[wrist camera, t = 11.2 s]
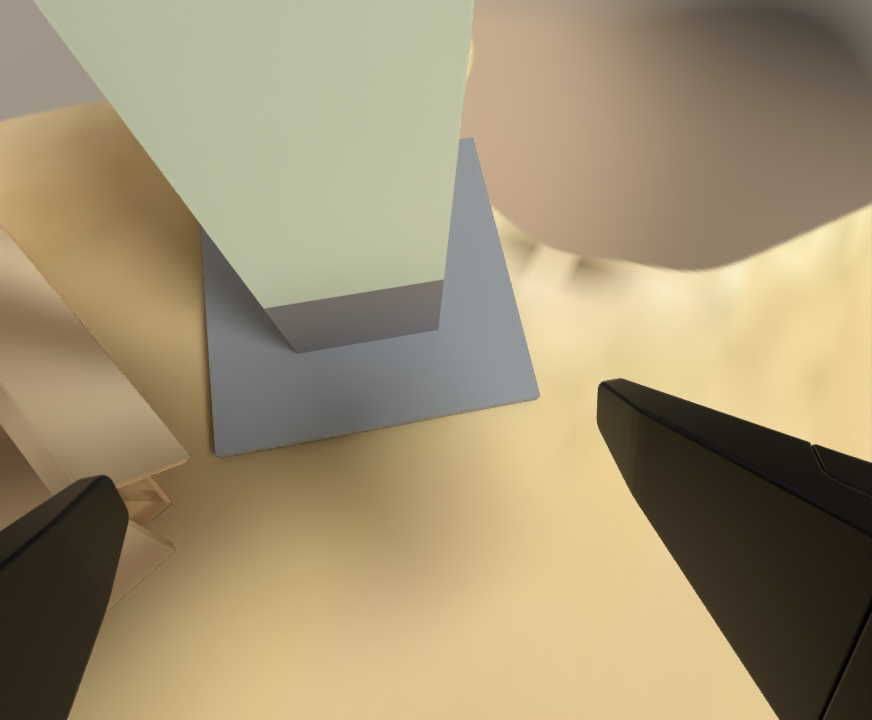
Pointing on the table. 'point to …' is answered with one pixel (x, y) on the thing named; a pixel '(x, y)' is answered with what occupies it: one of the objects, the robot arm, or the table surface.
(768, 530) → the robot arm
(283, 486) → the table surface
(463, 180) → the coaster
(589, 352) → the table surface
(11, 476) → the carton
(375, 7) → the box
